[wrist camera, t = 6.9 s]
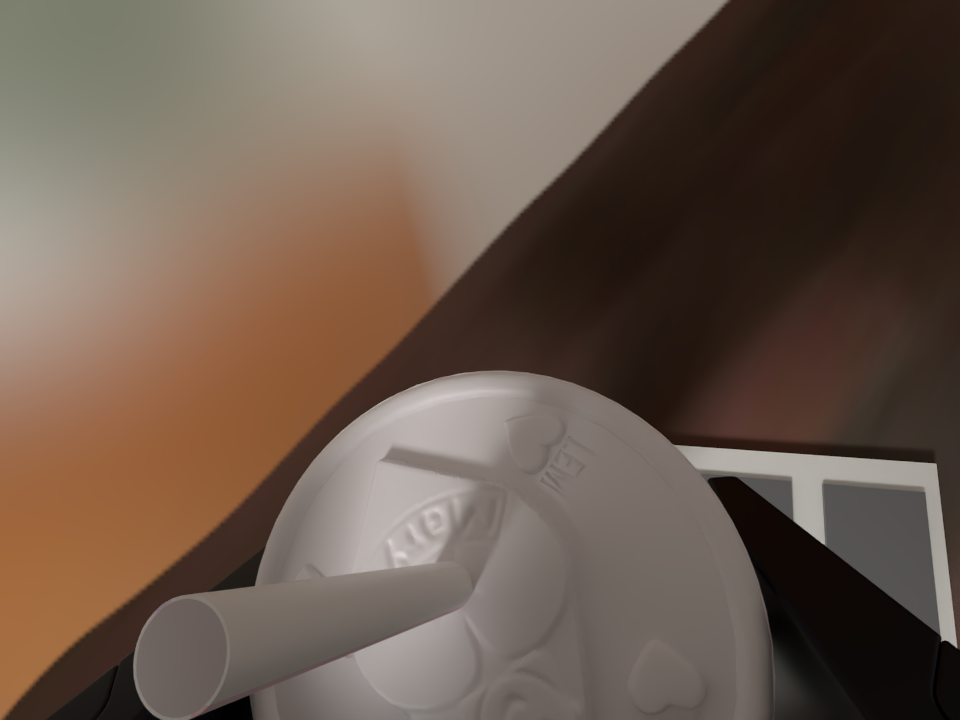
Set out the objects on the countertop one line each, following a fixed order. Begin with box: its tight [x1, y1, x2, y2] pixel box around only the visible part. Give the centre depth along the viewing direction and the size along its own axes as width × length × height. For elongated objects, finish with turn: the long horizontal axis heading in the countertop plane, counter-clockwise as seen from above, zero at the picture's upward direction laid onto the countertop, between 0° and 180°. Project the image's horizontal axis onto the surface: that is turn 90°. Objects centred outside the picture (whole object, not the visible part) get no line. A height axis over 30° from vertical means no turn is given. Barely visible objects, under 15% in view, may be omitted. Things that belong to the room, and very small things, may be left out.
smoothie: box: [133, 371, 775, 720], centre depth 9 cm, size 6×6×14 cm
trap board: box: [674, 445, 957, 648], centre depth 20 cm, size 10×18×1 cm, turn 83°
